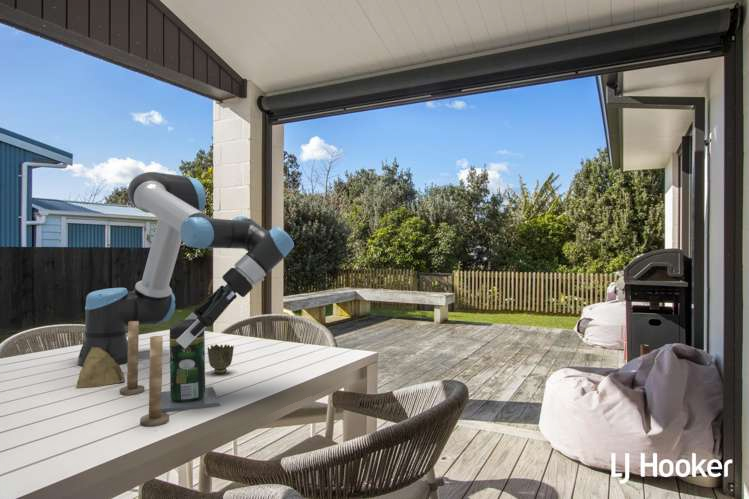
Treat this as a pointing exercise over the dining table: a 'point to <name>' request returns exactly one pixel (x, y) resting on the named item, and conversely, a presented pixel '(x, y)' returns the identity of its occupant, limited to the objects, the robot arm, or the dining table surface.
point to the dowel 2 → (155, 386)
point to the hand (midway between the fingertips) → (178, 339)
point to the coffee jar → (186, 364)
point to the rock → (99, 370)
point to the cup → (220, 357)
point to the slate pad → (205, 401)
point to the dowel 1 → (132, 361)
